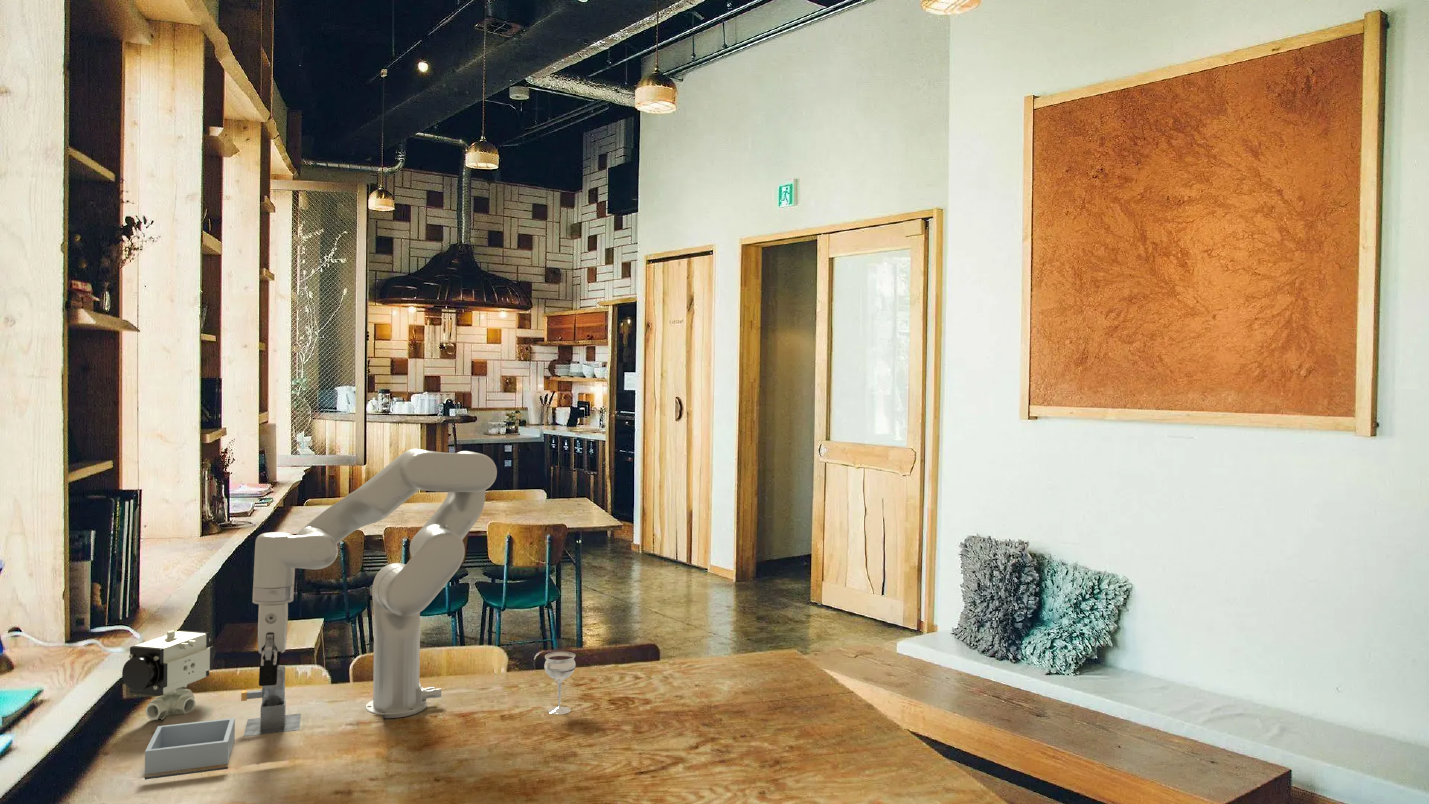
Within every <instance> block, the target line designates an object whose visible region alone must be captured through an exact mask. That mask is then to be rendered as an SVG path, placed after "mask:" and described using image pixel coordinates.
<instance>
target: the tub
mask: <svg viewBox="0 0 1429 804" xmlns="http://www.w3.org/2000/svg"><path fill="white" fill-rule="evenodd" d="M235 720H236V718H235V717H232V718H231V717H229V718H222V719H214V720H212V719H211V720H203V721H195V722H184V723H177V724H176V723H174V724H167V725H157V727H156V729H155V732H154V733H153V735H152V737H151V738H150V741H149V743H148V745H147V747H146V749H145V750H144V775H150V774H158V773H164V772H165V773H166V772H173V771H181V770H190V769H195V768H198V769H199V768H204V767H205V768H206V767H213V766H221V765H228V763H229V760H230V756H231V753H232V749H233V746H234V742H235V737H236V736H235V735H236V733H235V731H236V729H235V728H236V721H235ZM228 769H229V767H228V766H224V767H216V768H210V769H202V770H192V771H185V772H177V773H170V774H161V775H160V774H159V775H153V776H145V777H144V780H152V779H160V778H166V777H168V778H169V777H175V776H184V775H189V774H190V775H191V774H199V773H206V772H207V773H208V772H215V771H224V770H228Z"/></svg>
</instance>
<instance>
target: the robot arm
mask: <svg viewBox="0 0 1429 804" xmlns="http://www.w3.org/2000/svg"><path fill="white" fill-rule="evenodd" d="M497 475H498V468H497V466H496V464H495V462H494V460H493V459H492V458H491V457H489V456H488V455H486V454H483V453H480V452H475V451H469V450H462V451H458V452H442V451H433V450H428V449H427V450H426V449H421V448H411V449H408V450H405V451H404V452H402V453H401V454H400V455H398V456H397V457H396V458H395V459H394V460H392V461H391V462H390V463H389V464H387V465H386V466H384V468H383V469H381V470H380V471H379V472H377V473H376V474H375V475H374V476H372V477H371V478H369V480H367V481H366V482H364V483H363V484H362V485H360V487H358V488H357V489H355V490H354V491H352V492H350V493H349V494H347V495H346V496H344V497H343V498H342V499H340V500H338V501H337V502H335V503H333V504H332V505H331V506H330V507H327V508H326V509H325V510H324V511H322V512H321V513H319V515H317V516H316V517H314V518H313V520H311V521H310V522H308V523H307V524H306V525H305V526H304V527H302V528H301V529H300V530H299V531H298V532H297V533H296V535H294V534H292V533H290V532H284V531H274V532H273V531H271V532H263V533H261V534H259V535H258V536H257V537H256V538H255V542H254V543H255V545H254V561H253V562H254V563H253V564H254V565H253V585H252V600H251V601H252V603H253V604H254V605H258V612H257V613H258V615H257V617H258V619H257V620H258V621H257V647H258V649H257V650H258V653H259V654H261V658H260V659H261V661H260V665H259V673H258V686H259V687H262V686H269V685H276V684H277V669H278V665H281V664H280V661H281V654H283V653H284V652H286V648H287V640H288V639H287V638H288V622H289V621H288V619H289V617H288V616H289V603H292V602H294V594H295V593H294V589H295V576H296V574H295V573H296V571H295V570H296V569H305V570H322V569H325V568H328V567H330V566H331V565H332V564H333V563H334V562H335V561H336V559H337V557H338V555H339V547H338V544H339V543H340V542H341V541H343V540H345V538H346V537H348V536H349V535H351V534H352V533H354V532H355V531H356V530H359V529H361V528H363V527H365V526H369V525H373V524H375V523H377V522H381V521H382V520H384V519H386V518H387V517H389V516H390V515H391V514H392V513H394V512H395V511H396V510H397V509H398V508H400V507H401V506H402V505H403V504H404V503H405V502H407V501H408V500H409V499H410V498H411V497H412V496H415V494H416V493H418V492H419V491H425V492H426V491H428V492H439V493H442V492H443V493H444V492H445V493H447V495H446V497H445V499H444V500H443V502H442V504H440V505H439V508H438V509H437V510H436V511H435V512H434V513H433V515H432V516H431V517H430V518H429V519H428V520H427V521H426V522H425V524H424V525H423V526H422V527H421V528H420V529H419V530H418V532H417V533H416V534H414V536H413V538H412V540H411V541H410V543H409V544H410V545H409V554H410V556H411V558H410V559H409V560H408V561H407V563H406V564H405V563H403V562H394V563H390V564H386V565H385V566H383V567H382V568H381V569H380V570H379V571H377V573H376V575H375V577H374V580H373V582H372V587H371V588H372V589H371V591H372V594H371V595H372V596H371V597H372V609H373V671H372V672H373V678H372V679H373V682H372V684H373V685H372V688H373V691H372V700H370V701H369V702H367V703H366V704H365V708H364V709H365V710H366V711H367V712H369V713H370V714H373V715H381V717H382V719H396V718H397V719H398V718H399V719H400V718H404V717H410V716H413V715H416V714H419V713H420V712H423V711H424V710H425V708H427V699H439V698H442V688H441V687H440V688H435V686H429V687H424V686H422V685H421V681H420V669H421V667H420V659H421V655H420V654H421V652H420V651H421V649H420V648H421V647H420V646H421V614H420V613H421V612H422V611H424V610H425V609H426V608H427V607H428V606H429V605H430V604H431V603H432V601H434V600H435V598H436V597H437V596H438V594H439V593H440V592H441V591H442V590H443V589H444V587H446V585H447V584H448V583H449V582H450V580H451V579H452V577H454V575H455V574H456V573H457V572H458V570H459V569H460V567H461V565H462V563H463V561H464V559H465V551H466V549H465V544H464V541H463V540H464V538H465V537H466V536H467V534H468V533H469V532H470V531H471V529H472V528H473V527H474V525H475V524H476V522H477V521H478V520H479V519H480V517H481V515H482V513H483V511H484V507H485V502H486V490H488V489H489V488H491V487H492V485H494V483H495V481H496V479H497Z"/></svg>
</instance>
